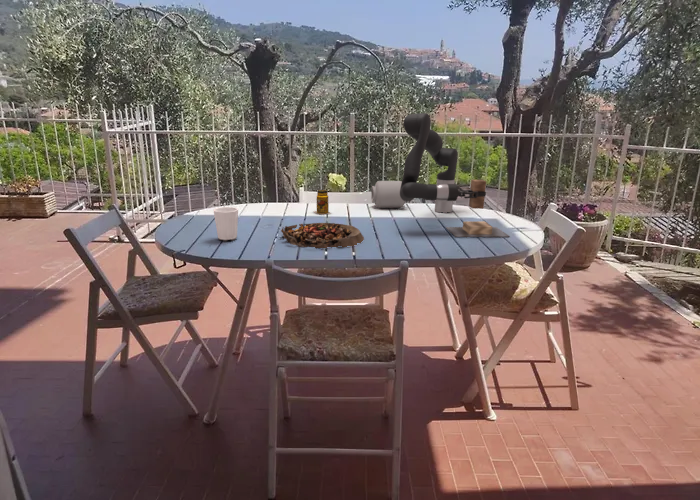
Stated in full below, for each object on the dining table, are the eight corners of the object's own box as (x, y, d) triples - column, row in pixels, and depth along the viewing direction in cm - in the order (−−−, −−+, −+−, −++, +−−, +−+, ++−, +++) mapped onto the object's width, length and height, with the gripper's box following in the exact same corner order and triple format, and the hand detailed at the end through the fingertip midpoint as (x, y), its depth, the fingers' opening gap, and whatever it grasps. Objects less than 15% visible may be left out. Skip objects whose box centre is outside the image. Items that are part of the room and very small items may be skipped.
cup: (227, 244, 197) (225, 213, 193) (210, 240, 202) (208, 210, 198) (244, 238, 205) (243, 208, 201) (227, 235, 210) (226, 205, 206)
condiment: (318, 215, 249) (318, 191, 246) (312, 211, 257) (312, 189, 253) (331, 214, 252) (331, 191, 248) (326, 210, 259) (326, 188, 256)
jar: (405, 204, 255) (358, 196, 256) (401, 220, 268) (356, 212, 268) (409, 176, 265) (363, 168, 266) (404, 193, 278) (361, 186, 278)
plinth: (455, 237, 212) (456, 228, 211) (445, 228, 227) (446, 219, 226) (509, 237, 214) (510, 228, 212) (496, 228, 229) (497, 219, 228)
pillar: (472, 208, 215) (474, 181, 212) (468, 206, 220) (471, 179, 216) (483, 208, 216) (486, 181, 212) (479, 206, 220) (482, 179, 217)
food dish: (266, 246, 199) (265, 228, 197) (303, 229, 229) (303, 213, 226) (346, 254, 186) (346, 234, 184) (374, 235, 216) (374, 218, 214)
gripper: (450, 186, 207) (489, 187, 208) (442, 181, 221) (479, 181, 222) (449, 204, 209) (488, 204, 210) (441, 197, 223) (477, 198, 224)
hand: (483, 192), depth 216 cm, fingers closed on pillar, 5 cm apart
